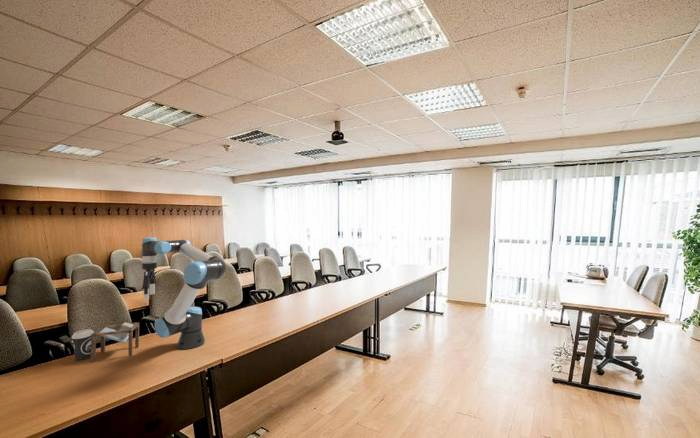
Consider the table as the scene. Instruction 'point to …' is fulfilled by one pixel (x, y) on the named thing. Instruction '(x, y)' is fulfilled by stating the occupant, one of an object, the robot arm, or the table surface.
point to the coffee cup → (82, 344)
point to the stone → (124, 327)
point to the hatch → (113, 335)
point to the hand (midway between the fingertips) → (149, 296)
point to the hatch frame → (96, 333)
